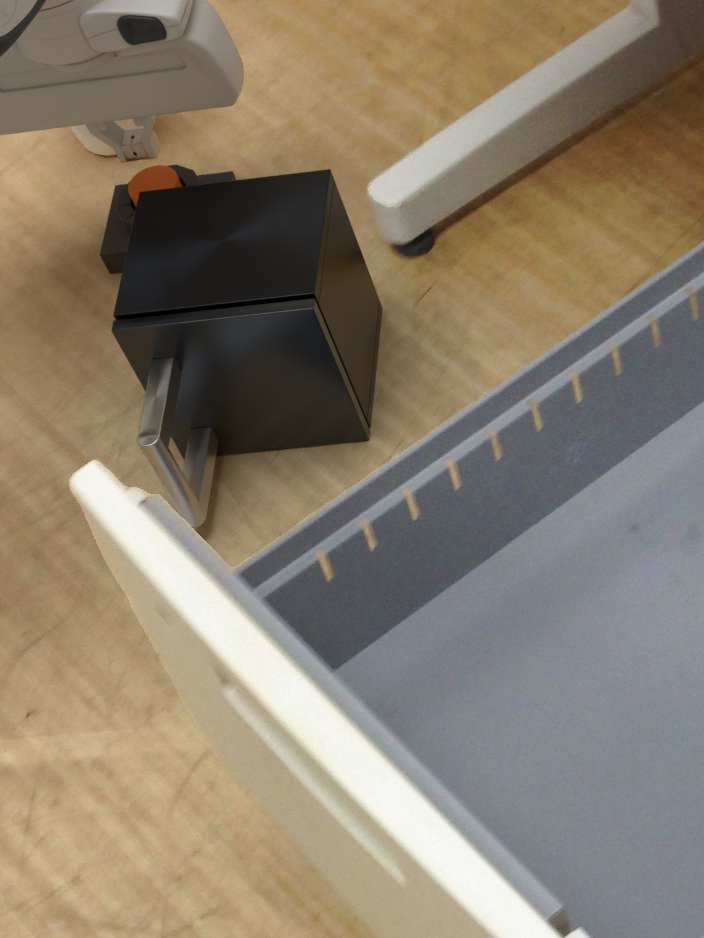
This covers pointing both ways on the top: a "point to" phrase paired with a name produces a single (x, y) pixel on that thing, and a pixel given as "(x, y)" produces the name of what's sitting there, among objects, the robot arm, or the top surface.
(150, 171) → the release button
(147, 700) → the top surface
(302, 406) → the cupboard door
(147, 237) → the cupboard
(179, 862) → the top surface
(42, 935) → the top surface
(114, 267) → the release block
